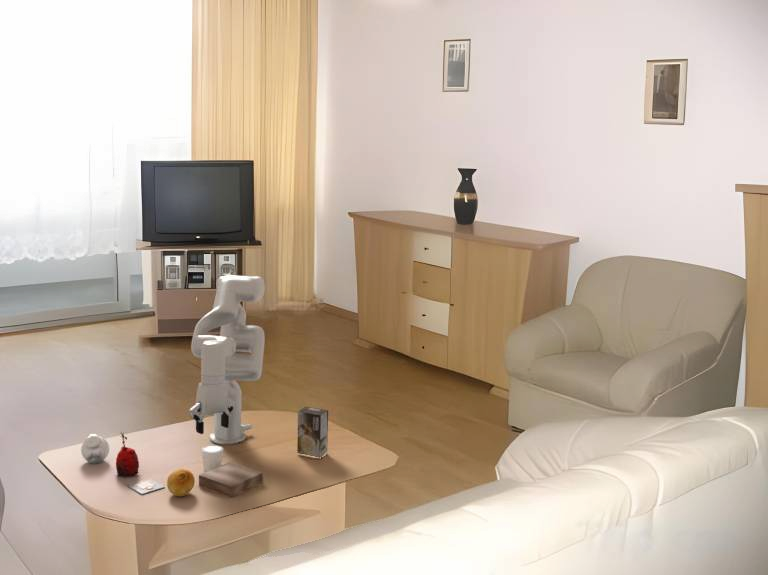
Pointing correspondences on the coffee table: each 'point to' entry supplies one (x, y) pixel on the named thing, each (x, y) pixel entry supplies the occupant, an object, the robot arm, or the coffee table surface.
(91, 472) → the coffee table surface
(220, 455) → the shot glass
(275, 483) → the coffee table surface
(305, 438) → the coffee box
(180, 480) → the fruit
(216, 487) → the walnut block
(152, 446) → the coffee table surface
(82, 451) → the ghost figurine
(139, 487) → the card
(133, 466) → the red clay folk toy
